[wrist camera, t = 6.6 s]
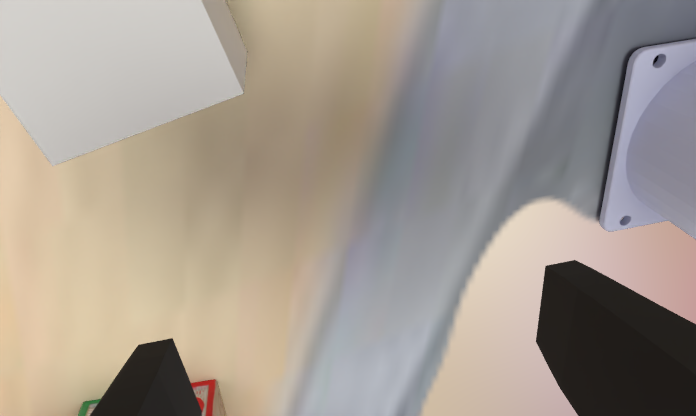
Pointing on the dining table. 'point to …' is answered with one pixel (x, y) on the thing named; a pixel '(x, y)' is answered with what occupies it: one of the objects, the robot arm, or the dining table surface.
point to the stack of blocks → (204, 393)
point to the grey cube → (114, 67)
